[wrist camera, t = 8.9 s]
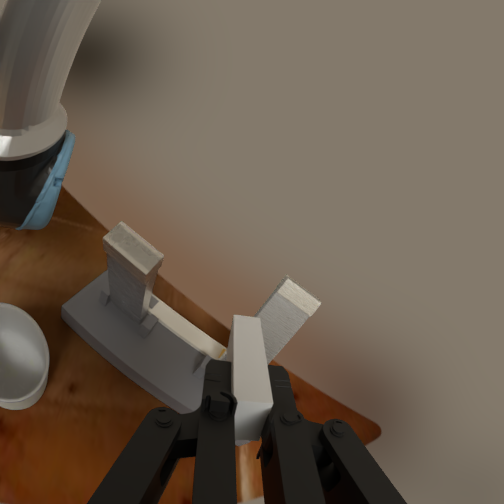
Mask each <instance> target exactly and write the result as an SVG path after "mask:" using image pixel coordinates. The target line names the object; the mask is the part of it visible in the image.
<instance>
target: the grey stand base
mask: <svg viewBox="0 0 504 504" xmlns="http://www.w3.org/2000/svg"><path fill="white" fill-rule="evenodd" d="M61 318H62V319H63V320H64V321H65V322H66V323H67V324H68V325H69V326H70V327H71V328H72V329H73V330H74V331H75V332H76V333H77V334H78V335H79V336H80V337H81V338H82V339H83V340H84V341H86V342H87V343H88V344H89V345H90V346H91V347H92V348H93V349H94V350H96V351H97V352H98V353H99V354H100V355H101V356H103V357H104V358H105V359H106V360H107V361H108V362H110V363H111V364H112V365H113V366H115V367H116V368H117V369H118V370H119V371H121V372H122V373H123V374H125V375H126V376H127V377H128V378H130V379H131V380H132V381H134V382H135V383H136V384H138V385H139V386H140V387H142V388H143V389H145V390H146V391H147V392H149V393H150V394H152V395H153V396H154V397H156V398H157V399H159V400H160V401H162V402H163V403H165V404H166V405H168V406H169V407H171V408H172V409H174V410H175V411H177V412H178V413H180V414H186V413H191V412H193V411H195V410H197V409H198V408H199V406H200V405H201V400H202V392H203V383H204V375H205V368H206V364H207V363H208V362H209V361H210V360H211V359H214V360H218V359H219V358H220V357H221V356H222V354H223V353H224V352H225V351H226V350H227V348H225V347H224V346H222V345H221V344H220V343H218V342H217V341H215V340H214V339H212V338H211V337H210V336H208V335H207V334H205V333H204V332H202V331H201V330H200V329H198V328H197V327H196V326H194V325H193V324H191V323H190V322H189V321H187V320H186V319H185V318H183V317H182V316H181V315H179V314H178V313H177V312H175V311H174V310H173V309H171V308H170V307H169V306H167V305H166V304H165V303H164V302H162V301H161V300H160V299H159V298H157V297H156V296H155V295H153V294H152V295H151V299H150V303H149V307H148V311H147V315H146V317H145V319H144V320H143V321H142V322H141V324H140V325H138V324H137V323H135V322H134V321H133V320H132V319H131V318H129V317H128V316H127V315H126V314H125V313H123V312H122V311H121V310H120V309H119V308H117V307H116V306H115V305H114V304H113V303H112V302H111V300H110V290H109V279H108V269H107V270H106V271H105V272H104V273H102V274H101V275H100V276H98V277H97V278H96V279H94V280H93V281H92V282H91V283H89V284H88V285H87V286H86V287H84V288H83V289H82V290H81V291H79V292H78V293H77V294H76V295H74V296H73V297H72V298H71V299H69V300H68V301H67V302H66V303H65V304H63V305H62V309H61ZM249 442H250V440H235V445H237V446H241V445H244V444H246V443H249Z"/></svg>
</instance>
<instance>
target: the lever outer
mask: <svg viewBox="0 0 504 504" xmlns="http://www.w3.org/2000/svg"><path fill="white" fill-rule="evenodd" d="M320 304H321V302H320V300H319V299H318V298H317V297H316V296H314V295H313V294H312V293H311V292H309V291H308V290H307V289H305V288H304V287H303V286H301V285H300V284H298V283H297V282H296V281H295V280H293V279H292V278H291V277H289V276H288V275H287V274H286V275H285V277H284V278H283V279H282V280H281V282H280V283H279V284H278V286H277V287H276V289H275V290H274V292H273V293H272V294H271V295H270V297H269V298H268V299H267V301H266V302H265V303H264V304H263V306H262V307H261V308H260V309H259V311H258V312H257V313H256V314H255V316H254V317H256V318H260V321H261V328H262V334H263V341H264V347H265V353H266V360H267V365H268V364H269V362H270V361H271V360H272V359H273V358H274V357H275V356H276V355H277V354H278V352H279V351H280V350H281V349H282V348H283V347H284V346H285V345H286V343H287V342H288V341H289V340H290V339H291V338H292V336H293V335H294V334H295V333H296V332H297V330H298V329H299V328H300V327H301V326H302V325H303V323H304V322H305V321H306V320H307V319H308V317H309V316H311V315H312V314H313V313H314V312H315V311H316V309H317V308H318V307H319V305H320ZM218 360H222V361H227V350H226V351H225V352H224V353H223V354H222V356H221V357H220V358H219V359H218Z"/></svg>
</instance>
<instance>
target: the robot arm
mask: <svg viewBox="0 0 504 504" xmlns="http://www.w3.org/2000/svg"><path fill="white" fill-rule="evenodd" d="M100 2H101V0H5V2H4V5H3V7H2V10H1V13H0V226H1V227H8V228H14V229H16V230H21V229H32V230H40V229H43V228H44V227H45V226H47V224H48V223H49V221H50V219H51V217H52V215H53V212H54V209H55V206H56V203H57V199H58V196H59V193H60V189H61V185H62V181H63V179H64V176H65V173H66V170H67V167H68V164H69V161H70V158H71V154H72V151H73V147H74V143H75V135H74V134H72V133H71V132H70V131H68V130H66V126H67V114H66V111H65V109H64V107H63V106H62V105H61V104H60V102H59V101H60V97H61V94H62V91H63V88H64V85H65V82H66V79H67V76H68V73H69V70H70V68H71V65H72V62H73V60H74V57H75V55H76V52H77V50H78V48H79V45H80V43H81V40H82V38H83V36H84V34H85V31H86V30H87V27H88V25H89V23H90V21H91V19H92V17H93V15H94V13H95V12H96V10H97V8H98V6H99V4H100ZM260 437H262V444H261V447H260V449H259V451H258V454H257V457H256V459H259V457H260V459H261V470H262V481H263V491H264V502H265V504H407V503H406V502H405V500H404V499H403V498H402V496H401V495H400V494H399V492H398V491H397V490H396V488H395V487H394V486H393V484H392V483H391V482H390V480H389V479H388V477H387V476H386V475H385V473H384V472H383V471H382V469H381V468H380V467H379V465H378V464H377V462H376V461H375V460H374V458H373V457H372V456H371V454H370V453H369V452H368V450H367V449H366V447H365V446H364V445H363V443H362V442H361V440H360V439H359V438H358V436H357V435H356V433H355V432H354V431H353V429H352V428H351V426H350V425H349V424H348V423H346V422H344V421H342V420H339V419H331V420H328V421H326V422H325V424H324V425H323V424H319V423H314V422H311V421H308V420H306V419H304V417H303V415H302V414H301V413H300V412H299V411H297V408H296V404H295V400H294V396H293V392H292V388H291V383H290V379H289V375H288V373H287V371H286V370H285V369H284V368H283V366H273V365H267V360H266V353H265V347H264V341H263V334H262V328H261V321H260V318H256V317H249V316H242V315H234V316H233V321H232V326H231V332H230V337H229V343H228V348H227V361H222V360H214V359H211V360H210V361H209V362H208V363H207V364H206V368H205V375H204V383H203V392H202V400H201V405H200V406H199V408H198V409H197V410H195V411H193V412H191V413H186V414H178V413H177V412H176V411H174V410H172V409H170V408H165V407H158V408H155V409H152V410H151V411H150V412H149V413H148V414H147V415H146V417H145V418H144V420H143V421H142V423H141V424H140V426H139V427H138V429H137V430H136V432H135V433H134V435H133V436H132V438H131V439H130V441H129V442H128V444H127V445H126V447H125V448H124V450H123V451H122V453H121V454H120V455H119V457H118V458H117V460H116V461H115V463H114V464H113V466H112V467H111V469H110V470H109V472H108V473H107V475H106V476H105V478H104V479H103V481H102V482H101V484H100V485H99V487H98V488H97V490H96V491H95V493H94V494H93V495H92V497H91V498H90V500H89V501H88V503H87V504H158V502H159V500H160V498H161V496H162V494H163V492H164V490H165V488H166V486H167V483H168V481H169V479H170V477H171V475H172V473H173V471H174V469H175V467H176V465H177V463H178V461H179V459H180V458H186V457H194V456H196V458H195V470H194V482H193V495H192V504H237V493H236V461H235V440H250V441H259V439H260Z"/></svg>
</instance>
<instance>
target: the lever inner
mask: <svg viewBox="0 0 504 504" xmlns="http://www.w3.org/2000/svg"><path fill="white" fill-rule="evenodd" d="M103 250H104V251H105V252H106V253H107V266H108V279H109V290H110V300H111V302H112V303H113V304H114V305H115V306H116V307H117V308H119V309H120V310H121V311H122V312H123V313H125V314H126V315H127V316H128V317H129V318H131V319H132V320H133V321H134V322H135V323H137V324H138V325H140V324H141V322H142V321H143V320H144V319H145V317H146V315H147V311H148V307H149V303H150V299H151V295H152V291H153V287H154V283H155V279H156V276H157V272H158V269H159V268H160V267H161V264H162V261H163V257H164V255H163V254H162V253H160V252H159V251H158V250H157V249H155V248H154V247H153V246H152V245H150V244H149V243H148V242H147V241H145V240H144V239H143V238H142V237H140V236H139V235H138V234H137V233H136V232H134V231H133V230H132V229H131V228H130V227H128V226H127V225H126V224H125V223H123V222H122V221H121V222H120V223H119V224H118V225H116V226H115V227H114V228H113V229H112V230H111V231H110V232H109V233H107V234H106V235H105V236H104V237H103Z"/></svg>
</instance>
